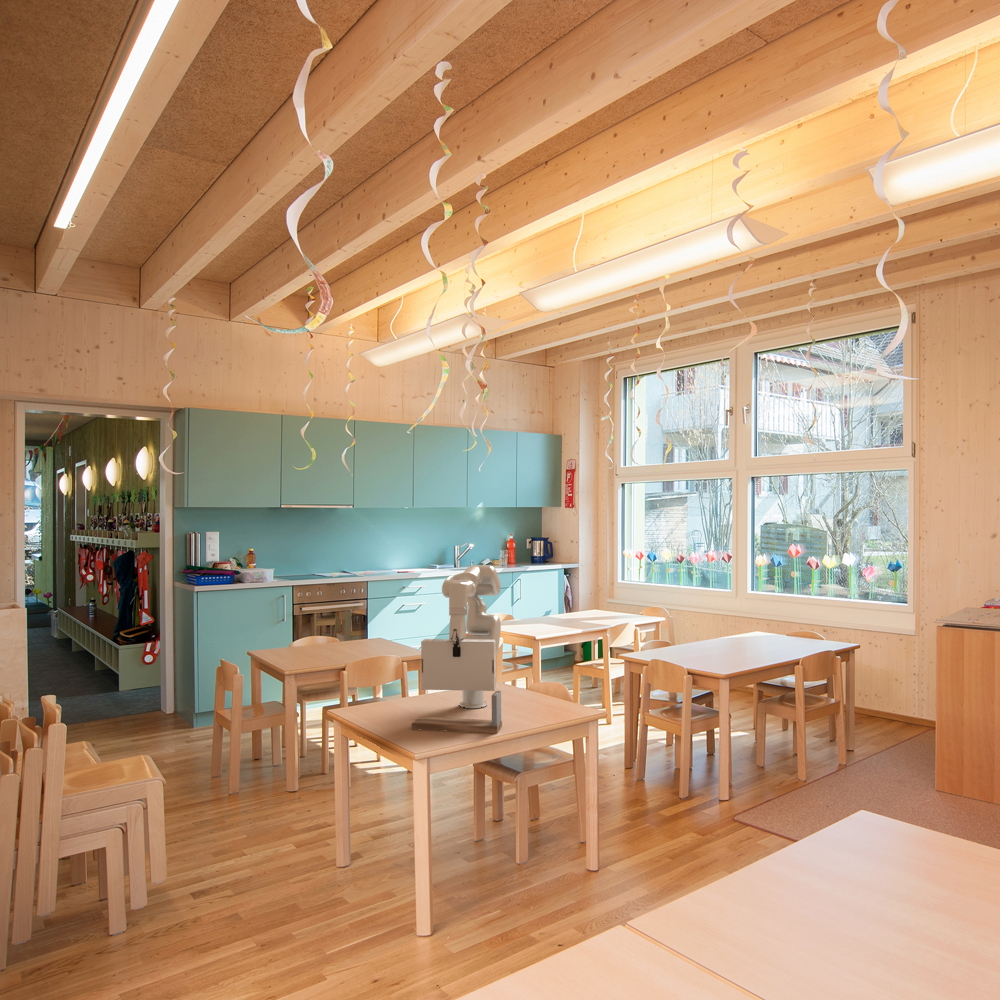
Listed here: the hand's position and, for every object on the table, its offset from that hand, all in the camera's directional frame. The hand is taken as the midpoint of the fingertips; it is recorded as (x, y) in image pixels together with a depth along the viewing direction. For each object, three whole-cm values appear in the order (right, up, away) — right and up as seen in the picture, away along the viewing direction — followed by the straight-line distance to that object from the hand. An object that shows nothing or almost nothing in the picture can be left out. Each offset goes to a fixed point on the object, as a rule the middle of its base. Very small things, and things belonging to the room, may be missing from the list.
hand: (458, 655), depth 319 cm
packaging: (0, -14, 0) cm, 14 cm away
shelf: (0, -27, -9) cm, 29 cm away
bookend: (+16, -25, -13) cm, 32 cm away
